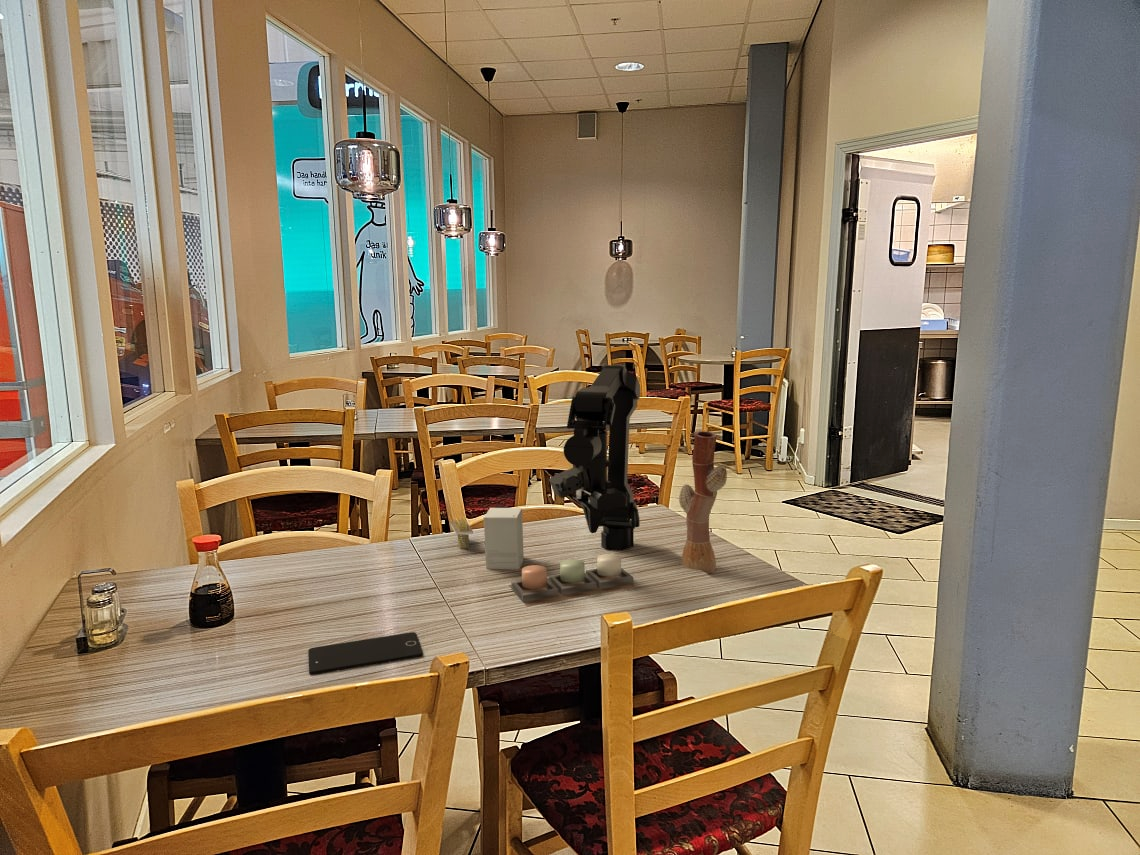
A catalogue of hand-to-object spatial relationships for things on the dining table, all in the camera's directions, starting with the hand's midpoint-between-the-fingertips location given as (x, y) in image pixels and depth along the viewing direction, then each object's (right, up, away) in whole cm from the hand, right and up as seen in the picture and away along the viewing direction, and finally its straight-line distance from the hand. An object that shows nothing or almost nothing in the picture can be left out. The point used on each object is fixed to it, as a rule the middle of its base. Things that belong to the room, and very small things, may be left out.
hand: (592, 532), depth 154 cm
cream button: (+3, -8, +3) cm, 10 cm away
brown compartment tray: (-4, -12, +1) cm, 13 cm away
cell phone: (-39, -18, -24) cm, 49 cm away
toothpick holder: (-30, -8, +30) cm, 43 cm away
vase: (+23, -10, +12) cm, 28 cm away
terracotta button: (-11, -10, -2) cm, 15 cm away
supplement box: (-19, -10, +14) cm, 25 cm away
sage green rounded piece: (-4, -9, 0) cm, 10 cm away
